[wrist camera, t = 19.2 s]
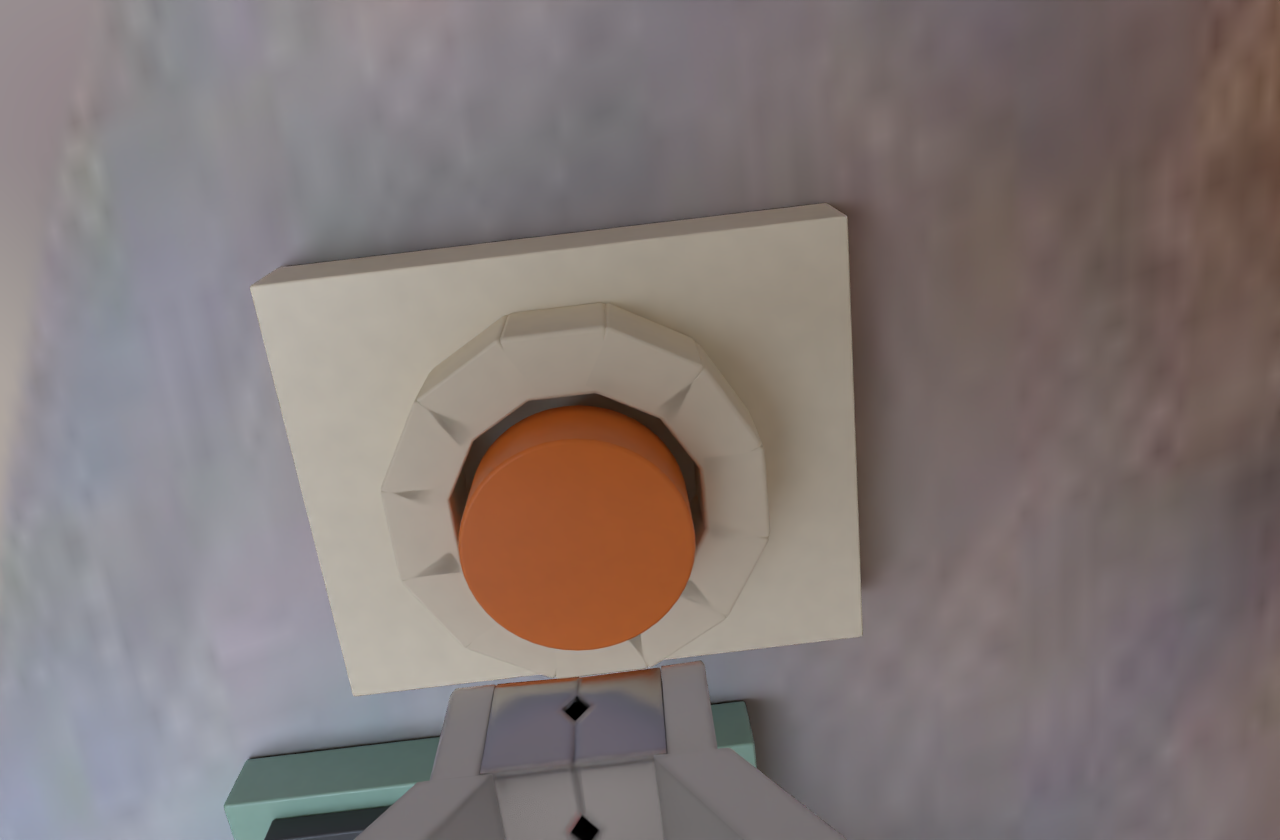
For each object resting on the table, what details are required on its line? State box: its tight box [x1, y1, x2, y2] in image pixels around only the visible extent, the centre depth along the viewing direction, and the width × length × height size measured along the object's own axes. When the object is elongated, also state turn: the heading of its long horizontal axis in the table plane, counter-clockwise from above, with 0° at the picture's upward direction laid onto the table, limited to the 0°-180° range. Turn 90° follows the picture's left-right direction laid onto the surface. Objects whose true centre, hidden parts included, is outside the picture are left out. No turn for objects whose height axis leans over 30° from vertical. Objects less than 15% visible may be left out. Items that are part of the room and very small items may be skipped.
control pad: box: [250, 203, 863, 696], centre depth 20 cm, size 11×9×4 cm
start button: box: [458, 405, 696, 651], centre depth 17 cm, size 4×4×2 cm
